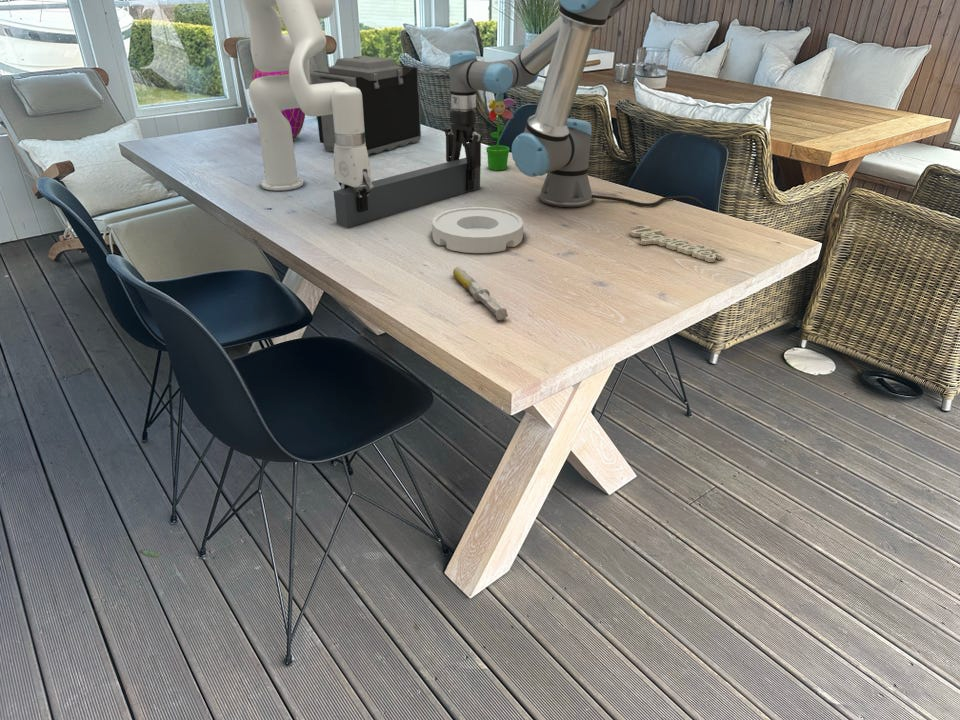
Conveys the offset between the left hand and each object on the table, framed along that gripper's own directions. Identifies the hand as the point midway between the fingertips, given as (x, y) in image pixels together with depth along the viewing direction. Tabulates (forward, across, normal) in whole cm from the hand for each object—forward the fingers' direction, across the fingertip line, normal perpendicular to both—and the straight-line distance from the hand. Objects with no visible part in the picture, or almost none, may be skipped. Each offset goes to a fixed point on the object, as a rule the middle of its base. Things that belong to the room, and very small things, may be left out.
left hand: (356, 208), depth 184 cm
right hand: (+3, 0, +41) cm, 41 cm away
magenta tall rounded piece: (+4, -94, +38) cm, 102 cm away
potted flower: (+4, -9, +67) cm, 68 cm away
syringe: (+4, +56, -12) cm, 58 cm away
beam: (+4, 0, +20) cm, 21 cm away
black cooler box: (+4, -63, +56) cm, 85 cm away
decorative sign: (+4, +70, +44) cm, 83 cm away
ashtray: (+4, +31, +14) cm, 35 cm away
